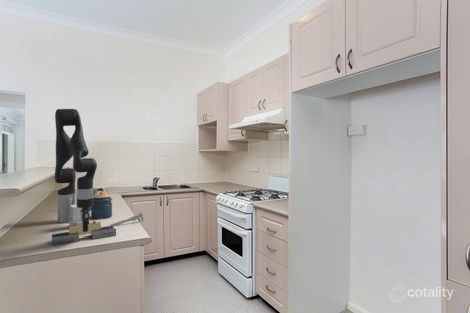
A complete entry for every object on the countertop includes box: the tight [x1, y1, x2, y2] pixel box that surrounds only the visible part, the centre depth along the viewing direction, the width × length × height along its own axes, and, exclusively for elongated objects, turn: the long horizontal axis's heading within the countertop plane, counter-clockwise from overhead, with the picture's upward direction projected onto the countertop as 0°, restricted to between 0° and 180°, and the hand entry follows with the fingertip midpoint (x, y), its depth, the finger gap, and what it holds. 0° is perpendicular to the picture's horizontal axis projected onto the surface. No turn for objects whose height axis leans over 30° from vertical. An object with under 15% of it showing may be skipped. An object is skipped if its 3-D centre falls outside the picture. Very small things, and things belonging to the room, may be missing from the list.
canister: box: [90, 191, 113, 220], centre depth 178 cm, size 13×13×18 cm
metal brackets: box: [51, 225, 117, 247], centre depth 135 cm, size 8×28×4 cm, turn 125°
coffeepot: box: [88, 187, 105, 211], centre depth 200 cm, size 15×9×18 cm, turn 118°
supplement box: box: [69, 204, 82, 225], centre depth 155 cm, size 7×7×13 cm
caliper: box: [109, 211, 144, 227], centre depth 162 cm, size 20×1×6 cm, turn 129°
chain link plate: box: [68, 220, 102, 236], centre depth 135 cm, size 3×14×6 cm, turn 125°
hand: (85, 230), depth 135 cm, fingers closed on chain link plate, 3 cm apart
